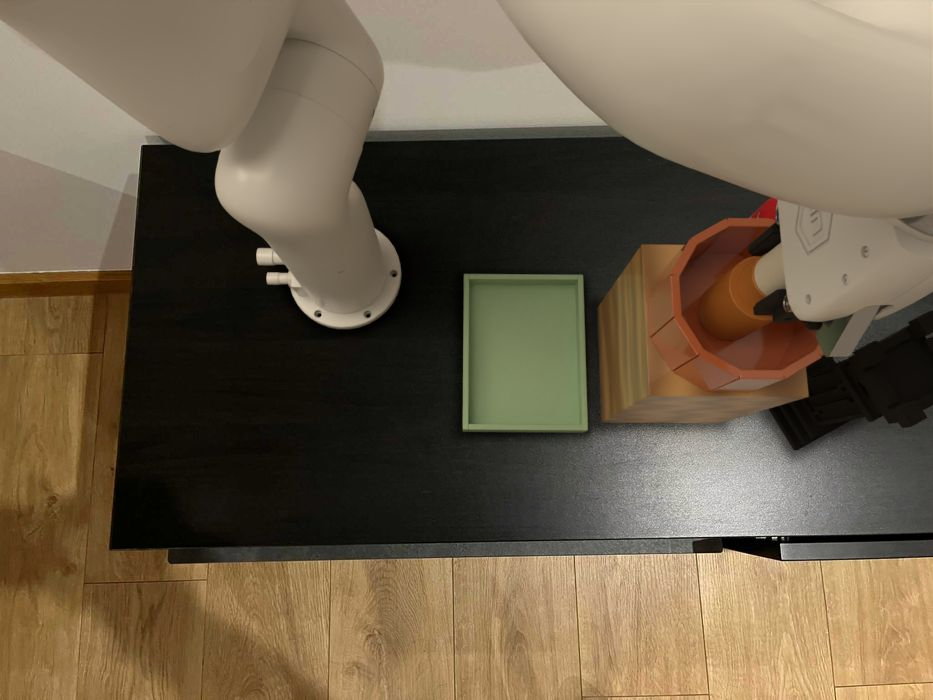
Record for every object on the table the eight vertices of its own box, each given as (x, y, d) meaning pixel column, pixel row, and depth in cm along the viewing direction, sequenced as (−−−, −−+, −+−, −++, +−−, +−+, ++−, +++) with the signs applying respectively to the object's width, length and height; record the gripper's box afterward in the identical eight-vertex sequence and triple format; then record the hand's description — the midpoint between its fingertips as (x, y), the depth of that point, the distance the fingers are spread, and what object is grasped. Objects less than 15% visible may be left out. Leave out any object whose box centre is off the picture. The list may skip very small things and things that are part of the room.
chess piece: (794, 450, 75) (910, 433, 56) (754, 385, 77) (853, 347, 57) (855, 416, 76) (991, 388, 56) (814, 353, 77) (933, 304, 58)
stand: (601, 422, 76) (648, 395, 56) (597, 307, 78) (641, 244, 59) (719, 423, 76) (809, 396, 56) (711, 308, 78) (794, 245, 59)
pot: (652, 392, 56) (676, 378, 50) (645, 247, 59) (666, 217, 53) (805, 393, 56) (848, 379, 50) (790, 248, 59) (830, 218, 53)
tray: (462, 431, 75) (462, 429, 73) (463, 280, 79) (463, 273, 77) (583, 432, 75) (588, 430, 73) (579, 281, 79) (583, 274, 77)
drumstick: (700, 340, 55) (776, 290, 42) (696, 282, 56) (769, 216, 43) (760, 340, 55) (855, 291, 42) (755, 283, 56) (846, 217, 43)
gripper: (853, -17, 32) (709, 169, 50) (898, 337, 28) (726, 399, 46) (1016, -14, 32) (814, 171, 50) (1081, 339, 28) (838, 400, 46)
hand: (773, 280), depth 48 cm, fingers closed on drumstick, 3 cm apart
